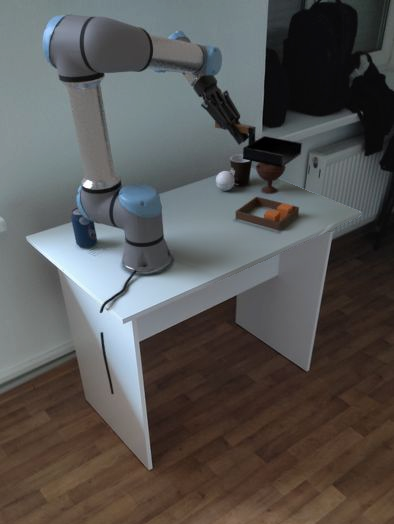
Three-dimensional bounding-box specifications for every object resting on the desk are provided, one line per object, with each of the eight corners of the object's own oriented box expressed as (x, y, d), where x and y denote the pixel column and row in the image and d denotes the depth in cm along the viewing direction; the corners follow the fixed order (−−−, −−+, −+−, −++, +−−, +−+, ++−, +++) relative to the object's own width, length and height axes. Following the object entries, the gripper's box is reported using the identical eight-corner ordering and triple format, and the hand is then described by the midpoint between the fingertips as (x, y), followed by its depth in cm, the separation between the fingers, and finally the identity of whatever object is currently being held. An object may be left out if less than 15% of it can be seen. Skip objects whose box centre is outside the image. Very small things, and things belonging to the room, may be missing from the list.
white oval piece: (211, 189, 198) (211, 171, 194) (226, 184, 202) (226, 166, 197) (228, 197, 192) (228, 178, 187) (242, 192, 195) (243, 173, 191)
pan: (205, 150, 169) (205, 126, 164) (227, 139, 177) (227, 115, 172) (281, 167, 156) (283, 140, 151) (300, 154, 164) (303, 128, 159)
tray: (235, 220, 178) (235, 211, 175) (255, 205, 186) (256, 196, 184) (278, 232, 170) (279, 223, 167) (298, 216, 178) (299, 207, 176)
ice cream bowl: (283, 196, 191) (286, 156, 181) (253, 195, 193) (255, 156, 183) (284, 185, 199) (287, 146, 189) (255, 184, 201) (257, 146, 191)
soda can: (97, 248, 166) (91, 214, 158) (76, 250, 165) (69, 216, 158) (97, 238, 171) (91, 205, 163) (77, 240, 171) (70, 207, 163)
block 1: (263, 214, 170) (275, 216, 169) (269, 209, 173) (280, 211, 171) (263, 225, 173) (274, 228, 171) (268, 220, 176) (279, 223, 174)
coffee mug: (252, 187, 199) (253, 162, 192) (230, 188, 199) (230, 162, 192) (250, 176, 207) (251, 151, 201) (229, 176, 208) (229, 152, 201)
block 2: (276, 207, 174) (287, 210, 172) (282, 202, 176) (293, 205, 174) (276, 218, 177) (286, 221, 175) (281, 214, 179) (292, 216, 177)
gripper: (194, 76, 156) (239, 140, 159) (221, 66, 165) (263, 127, 168) (181, 92, 162) (224, 154, 165) (208, 82, 171) (248, 141, 174)
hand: (244, 140), depth 166 cm, fingers closed on pan, 2 cm apart
